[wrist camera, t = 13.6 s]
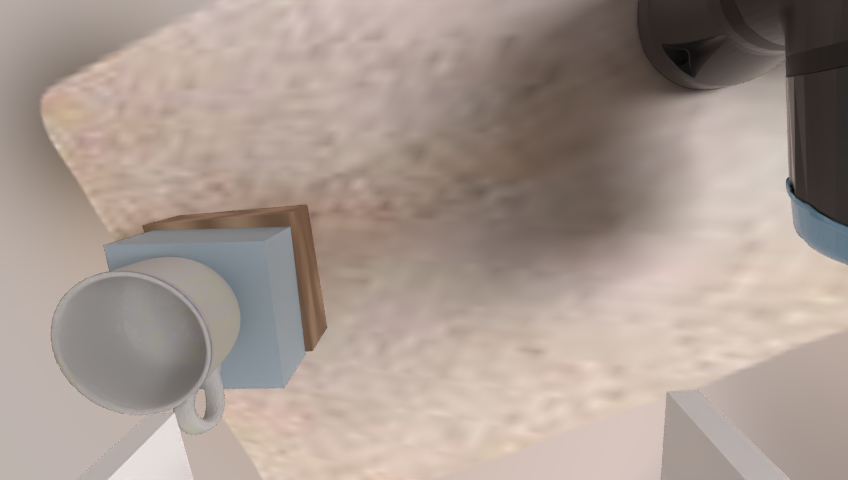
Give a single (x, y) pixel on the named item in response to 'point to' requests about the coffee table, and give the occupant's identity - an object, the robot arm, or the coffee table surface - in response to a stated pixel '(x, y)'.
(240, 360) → the top block
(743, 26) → the robot arm
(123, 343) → the teacup
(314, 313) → the base block
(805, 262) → the coffee table surface
